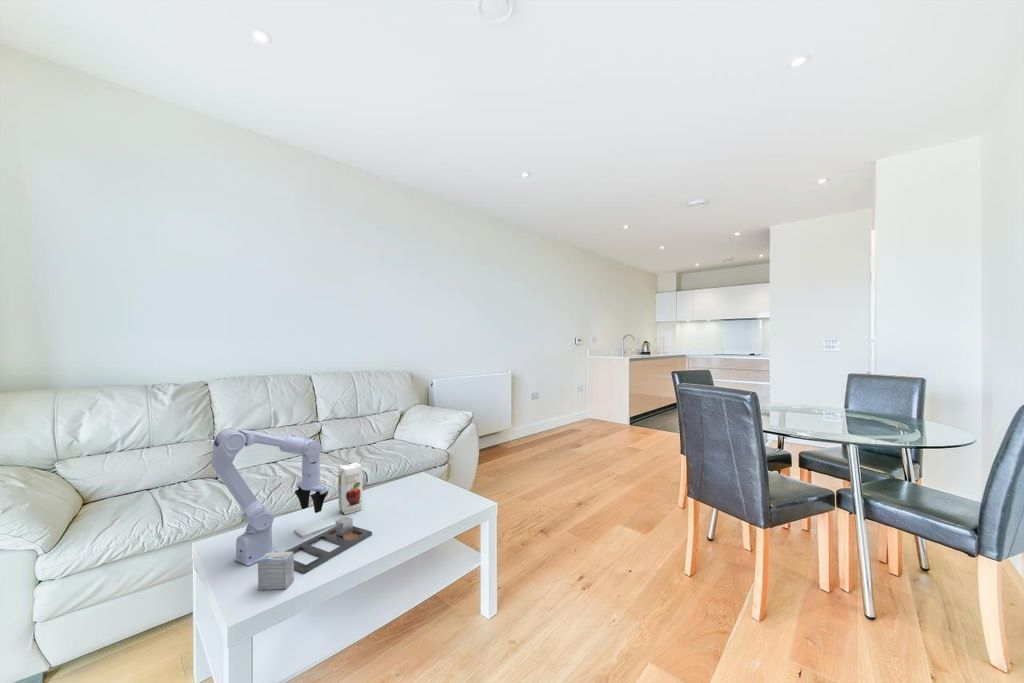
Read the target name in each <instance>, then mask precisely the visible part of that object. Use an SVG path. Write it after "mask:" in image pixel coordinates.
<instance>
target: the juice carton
mask: <svg viewBox="0 0 1024 683" xmlns="http://www.w3.org/2000/svg"><path fill="white" fill-rule="evenodd" d="M337 477H338V479H337V480H338V482H337V483H338V507H339V509H340V512H341V511H342V512H343V513H344V514H345V515H344V514H343V513H342V512H341V513H342V514H343V515H344V516H346V514H347V515H350V514H352V512H353V513H357V512H360V511H362V509H363V503H364V502H363V501H364V500H363V494H364V493H363V469H362V465H361V464H360V463H358V462H353V463H349V464H344V465H343V464H342V465H339V467H338V474H337ZM359 510H360V511H359ZM356 511H357V512H356ZM349 513H350V514H349Z"/></svg>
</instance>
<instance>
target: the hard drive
mask: <svg viewBox="0 0 1024 683" xmlns="http://www.w3.org/2000/svg"><path fill="white" fill-rule="evenodd" d="M335 526H336V521H334V520H333V519H331V518H330V517H326V518H322V519H320V520H318V521H315V522H312V523H308V524H306V525H304V526H303V525H302V526H300V527H298V528H295V529H293V533H295V534H296V535H297V536H298V537H300V538H301V539H303V540H304V539H305V538H308V537H311V536H313V535H316V534H320V533H323V532H325V531H327V530H329V529H331V528H333V527H335Z"/></svg>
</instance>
